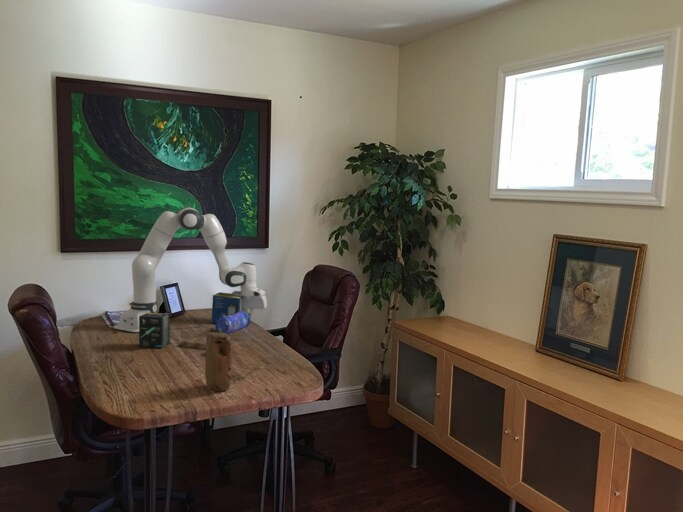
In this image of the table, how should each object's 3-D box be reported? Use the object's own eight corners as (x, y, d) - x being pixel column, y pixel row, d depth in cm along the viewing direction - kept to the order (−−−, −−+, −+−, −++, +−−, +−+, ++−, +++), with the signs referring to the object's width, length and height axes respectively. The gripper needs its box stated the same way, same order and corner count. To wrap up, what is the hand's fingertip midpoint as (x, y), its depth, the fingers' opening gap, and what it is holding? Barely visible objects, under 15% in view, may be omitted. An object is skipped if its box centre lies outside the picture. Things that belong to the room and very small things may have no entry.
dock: (180, 346, 257) (180, 341, 256) (211, 332, 285) (211, 327, 284) (213, 350, 253) (213, 345, 252) (240, 335, 281) (240, 330, 280)
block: (203, 384, 207) (204, 331, 205) (222, 381, 211) (223, 329, 209) (213, 393, 198) (214, 338, 196) (233, 390, 202) (234, 336, 200)
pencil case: (227, 336, 279) (227, 317, 278) (213, 334, 282) (213, 315, 281) (251, 327, 299) (251, 310, 298) (238, 325, 302) (238, 308, 301)
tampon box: (170, 343, 261) (170, 313, 259) (162, 349, 252) (162, 317, 250) (147, 342, 262) (147, 311, 260) (138, 347, 253) (138, 315, 251)
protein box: (217, 319, 314) (219, 292, 312) (244, 322, 311) (245, 294, 310) (210, 323, 303) (212, 295, 302) (237, 326, 301) (239, 297, 300)
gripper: (228, 291, 305) (229, 316, 307) (263, 293, 300) (263, 318, 302) (233, 289, 312) (234, 314, 313) (268, 291, 306) (268, 316, 308)
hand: (249, 316), depth 307 cm, fingers closed
